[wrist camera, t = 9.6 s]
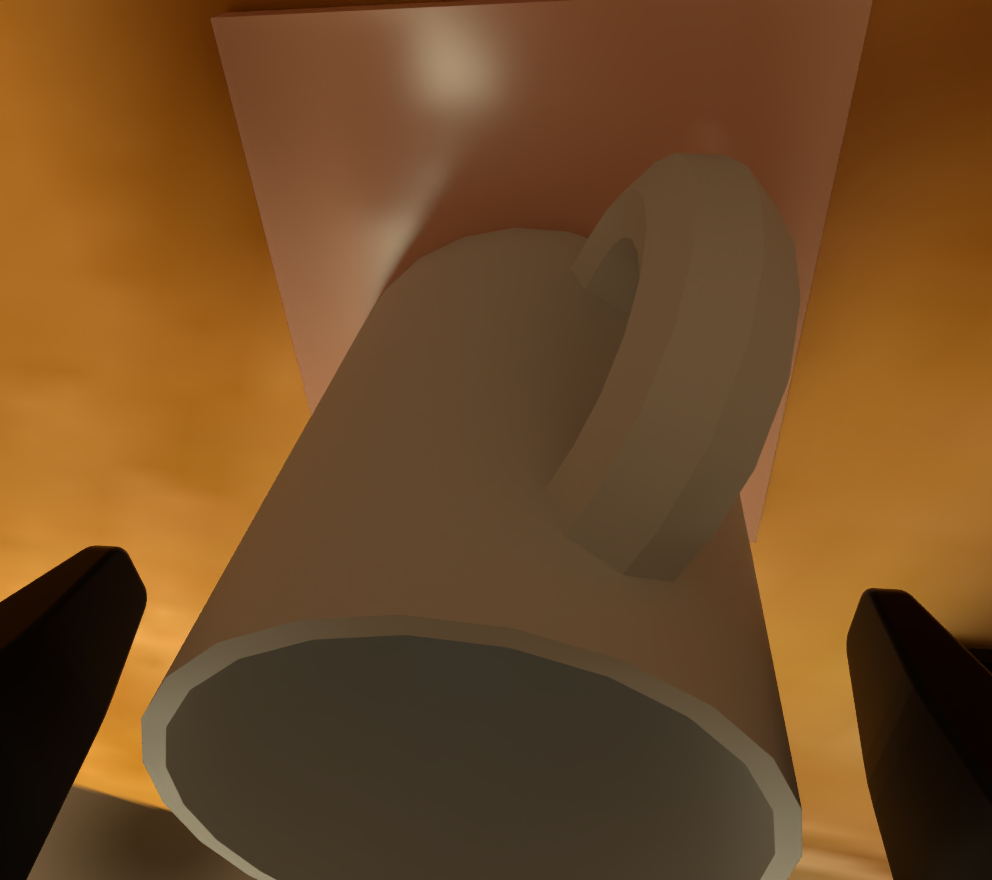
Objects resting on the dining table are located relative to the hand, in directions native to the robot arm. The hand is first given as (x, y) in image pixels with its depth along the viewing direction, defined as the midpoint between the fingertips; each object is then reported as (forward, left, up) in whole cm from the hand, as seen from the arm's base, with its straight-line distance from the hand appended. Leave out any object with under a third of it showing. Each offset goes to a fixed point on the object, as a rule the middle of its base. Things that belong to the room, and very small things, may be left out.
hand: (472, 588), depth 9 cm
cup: (0, -1, -7) cm, 7 cm away
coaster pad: (0, 0, -7) cm, 7 cm away
